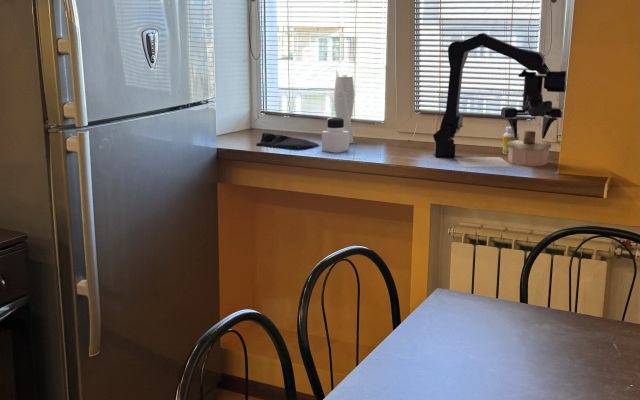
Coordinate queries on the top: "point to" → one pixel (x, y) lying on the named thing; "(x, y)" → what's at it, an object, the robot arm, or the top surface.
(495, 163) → the mat
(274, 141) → the crumpled black cloth
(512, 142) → the lid
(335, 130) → the medicine bottle
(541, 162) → the bowl
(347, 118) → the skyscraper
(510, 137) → the supplement bottle
